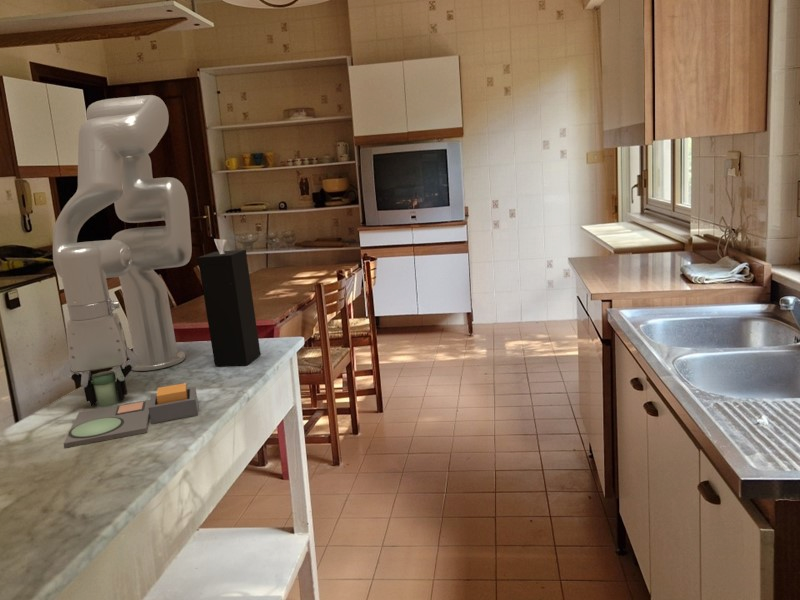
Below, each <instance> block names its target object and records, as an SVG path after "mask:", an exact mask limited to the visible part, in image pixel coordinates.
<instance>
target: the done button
mask: <svg viewBox="0 0 800 600" xmlns="http://www.w3.org/2000/svg"><path fill="white" fill-rule="evenodd" d="M187 388H188V387H187V383H186V382H184V383H178V384H174V385H173V384H172V385H167V386H161V387H160V386H159V387H157V390H156V393H157V396H156V397H157V402H158V404H163V403H169V402H174V401H180V400H185V399H188V393H187Z"/></svg>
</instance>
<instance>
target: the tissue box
mask: <svg viewBox="0 0 800 600" xmlns="http://www.w3.org/2000/svg"><path fill="white" fill-rule="evenodd" d="M213 240H214V243H215V246H216V249H217V251H213V252H210V253H207V254H204V255H201V256H198V257H197V264H198V267H199V273H200V281H201V285H202V292H203V293H202V294H203V299H204V306H205V310H206V312H205V313H206V318H207V324H208V331H209V336H210V337H209V338H210V344H211V349H212V356H213V362H214V366H215V367H225V366H227V367H230V366H231V367H232V366H247V365H250V364H251V363H252V362H254V361H255V360H256V359H258V358H259V357H260V356H261V348H260V342H259V333H258V326H257V320H256V319H257V318H256V311H255V306H254V300H253V293H252V292H253V291H252V285H251V278H250V270H249V264H248V259H247V258H248V255H247V249H238V250H236V249H235V250H226V247H227V243H228V239H223V238H218V239H217V238H214V239H213Z"/></svg>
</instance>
